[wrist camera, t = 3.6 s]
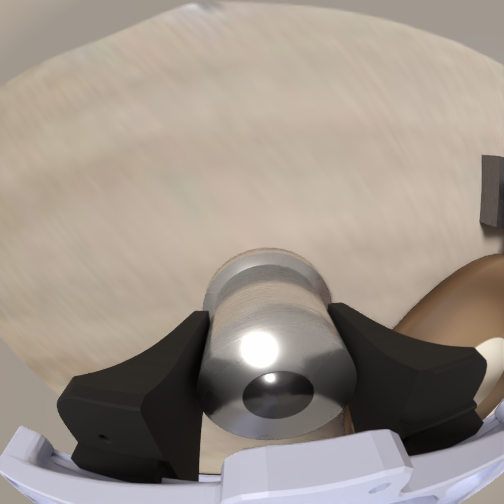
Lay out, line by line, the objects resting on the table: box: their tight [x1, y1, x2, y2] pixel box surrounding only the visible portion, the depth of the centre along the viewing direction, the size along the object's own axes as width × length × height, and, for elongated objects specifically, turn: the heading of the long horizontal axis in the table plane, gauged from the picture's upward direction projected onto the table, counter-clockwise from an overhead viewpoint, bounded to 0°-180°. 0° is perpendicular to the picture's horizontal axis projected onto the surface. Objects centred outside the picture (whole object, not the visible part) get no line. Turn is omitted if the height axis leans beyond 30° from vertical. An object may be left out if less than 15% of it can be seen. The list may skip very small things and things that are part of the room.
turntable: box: [344, 254, 504, 435], centre depth 14 cm, size 20×20×4 cm
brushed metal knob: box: [196, 248, 357, 440], centre depth 11 cm, size 6×6×6 cm
